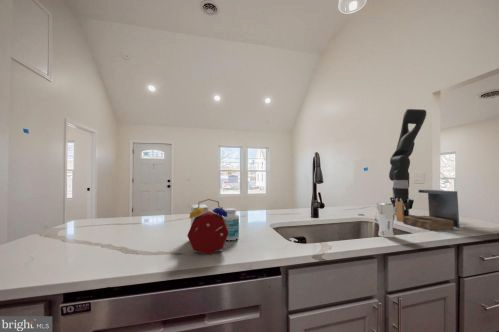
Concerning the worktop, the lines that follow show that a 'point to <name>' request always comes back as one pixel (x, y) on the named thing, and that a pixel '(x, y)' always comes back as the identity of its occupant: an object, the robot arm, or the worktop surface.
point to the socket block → (428, 222)
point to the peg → (400, 211)
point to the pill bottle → (232, 224)
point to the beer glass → (385, 219)
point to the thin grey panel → (443, 205)
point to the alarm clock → (208, 230)
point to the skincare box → (198, 208)
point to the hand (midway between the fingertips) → (402, 214)
